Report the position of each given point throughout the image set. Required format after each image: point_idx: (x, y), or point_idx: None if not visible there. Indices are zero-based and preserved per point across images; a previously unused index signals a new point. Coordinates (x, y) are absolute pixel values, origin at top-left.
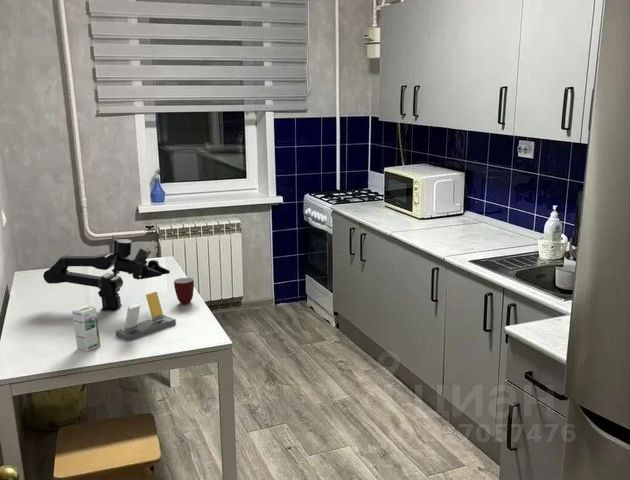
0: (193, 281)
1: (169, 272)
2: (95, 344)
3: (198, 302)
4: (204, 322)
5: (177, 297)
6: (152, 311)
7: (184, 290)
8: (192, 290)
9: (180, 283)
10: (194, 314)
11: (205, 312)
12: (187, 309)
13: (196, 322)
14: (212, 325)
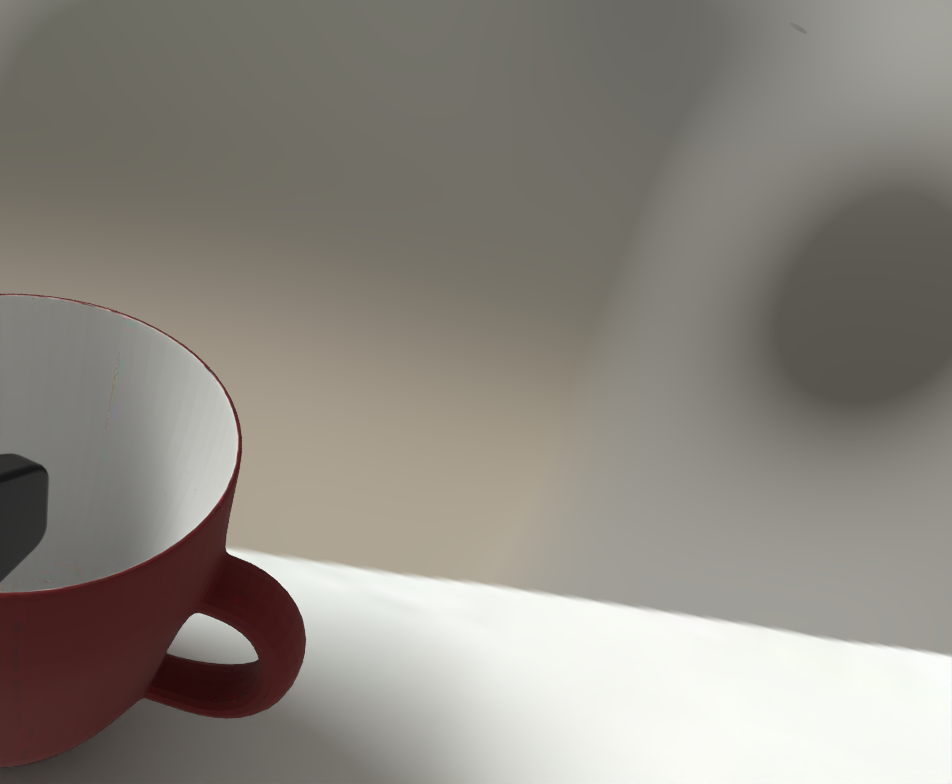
0: (131, 338)
1: (44, 505)
2: None
3: None
4: (813, 703)
5: (9, 758)
6: None
7: (272, 581)
8: (160, 476)
9: (197, 531)
10: (559, 722)
11: (530, 601)
12: (336, 747)
13: (811, 776)
14: (886, 665)
